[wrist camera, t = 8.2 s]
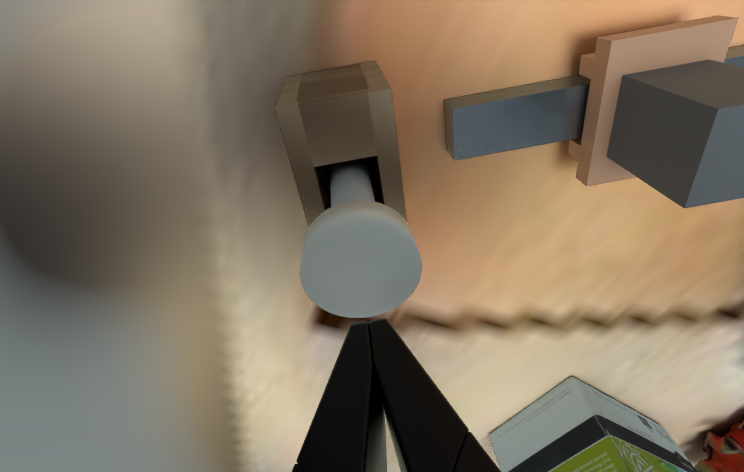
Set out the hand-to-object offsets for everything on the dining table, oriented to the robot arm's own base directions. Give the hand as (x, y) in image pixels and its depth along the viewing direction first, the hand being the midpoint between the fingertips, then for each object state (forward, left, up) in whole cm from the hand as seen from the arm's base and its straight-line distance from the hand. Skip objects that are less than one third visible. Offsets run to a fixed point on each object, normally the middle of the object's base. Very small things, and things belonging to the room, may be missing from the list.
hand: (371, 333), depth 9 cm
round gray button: (0, 0, -9) cm, 9 cm away
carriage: (0, -14, -12) cm, 18 cm away
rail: (0, -14, -12) cm, 18 cm away
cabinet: (0, 0, -12) cm, 12 cm away
